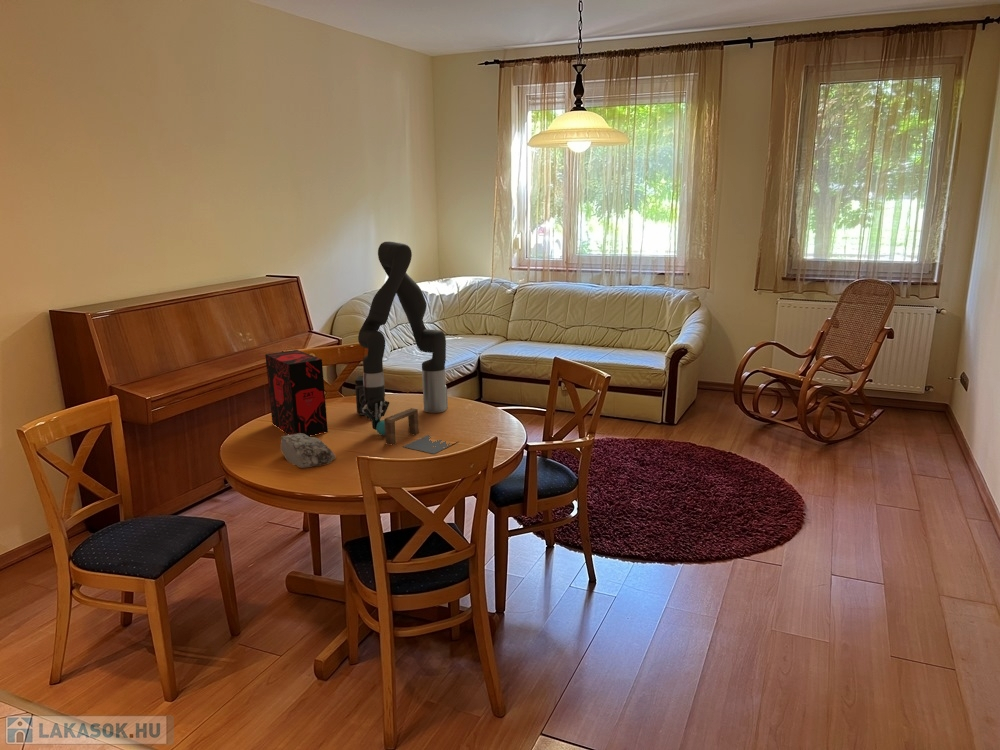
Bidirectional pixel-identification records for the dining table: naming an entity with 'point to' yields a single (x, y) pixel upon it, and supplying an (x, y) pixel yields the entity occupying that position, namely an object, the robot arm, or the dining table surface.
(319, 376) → the box
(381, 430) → the ball
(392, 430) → the bridge
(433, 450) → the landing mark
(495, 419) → the dining table surface
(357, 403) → the camera
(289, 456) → the decorative stone
